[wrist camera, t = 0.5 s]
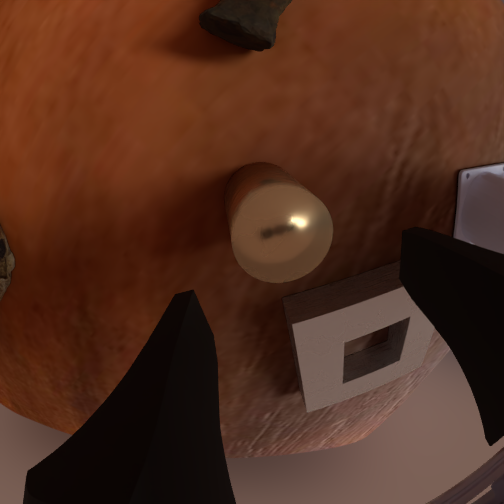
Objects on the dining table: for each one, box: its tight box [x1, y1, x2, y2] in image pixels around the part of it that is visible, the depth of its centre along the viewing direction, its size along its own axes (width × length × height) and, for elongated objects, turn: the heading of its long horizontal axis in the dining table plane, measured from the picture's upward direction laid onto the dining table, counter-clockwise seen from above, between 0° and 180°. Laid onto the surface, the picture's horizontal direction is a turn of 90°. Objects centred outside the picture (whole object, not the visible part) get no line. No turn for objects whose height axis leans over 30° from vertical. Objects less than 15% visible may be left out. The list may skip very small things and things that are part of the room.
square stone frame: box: [282, 261, 435, 413], centre depth 23 cm, size 14×14×3 cm
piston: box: [224, 162, 333, 283], centre depth 14 cm, size 4×4×6 cm
